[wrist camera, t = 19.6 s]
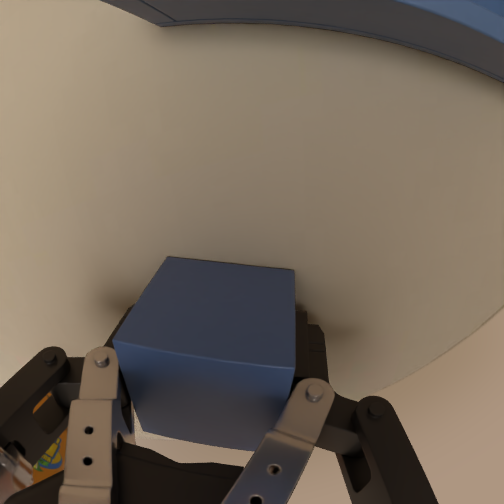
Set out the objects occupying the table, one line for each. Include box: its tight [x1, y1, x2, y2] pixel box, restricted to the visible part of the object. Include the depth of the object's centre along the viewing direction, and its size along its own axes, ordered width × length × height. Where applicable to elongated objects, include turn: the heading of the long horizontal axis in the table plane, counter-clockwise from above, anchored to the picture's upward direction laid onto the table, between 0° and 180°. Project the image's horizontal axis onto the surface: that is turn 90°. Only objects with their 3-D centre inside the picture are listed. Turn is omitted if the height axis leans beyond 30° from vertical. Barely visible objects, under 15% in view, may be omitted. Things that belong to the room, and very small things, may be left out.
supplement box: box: [28, 392, 68, 487], centre depth 13 cm, size 3×4×10 cm
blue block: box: [112, 257, 295, 451], centre depth 11 cm, size 5×5×5 cm
